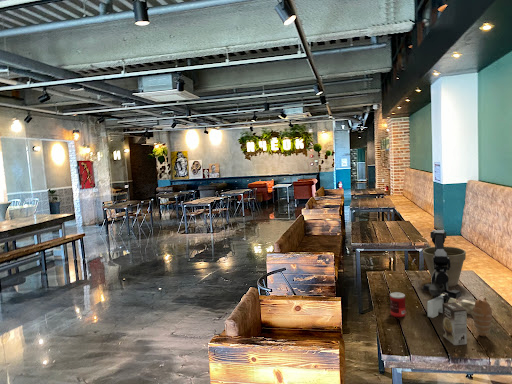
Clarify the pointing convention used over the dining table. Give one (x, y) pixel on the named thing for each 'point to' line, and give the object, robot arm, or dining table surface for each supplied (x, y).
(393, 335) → the dining table surface
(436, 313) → the slotted bar
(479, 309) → the cat ice cream
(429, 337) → the dining table surface
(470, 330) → the dining table surface
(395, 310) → the canned food
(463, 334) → the coffee box
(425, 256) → the plant pot
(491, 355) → the dining table surface
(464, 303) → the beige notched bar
